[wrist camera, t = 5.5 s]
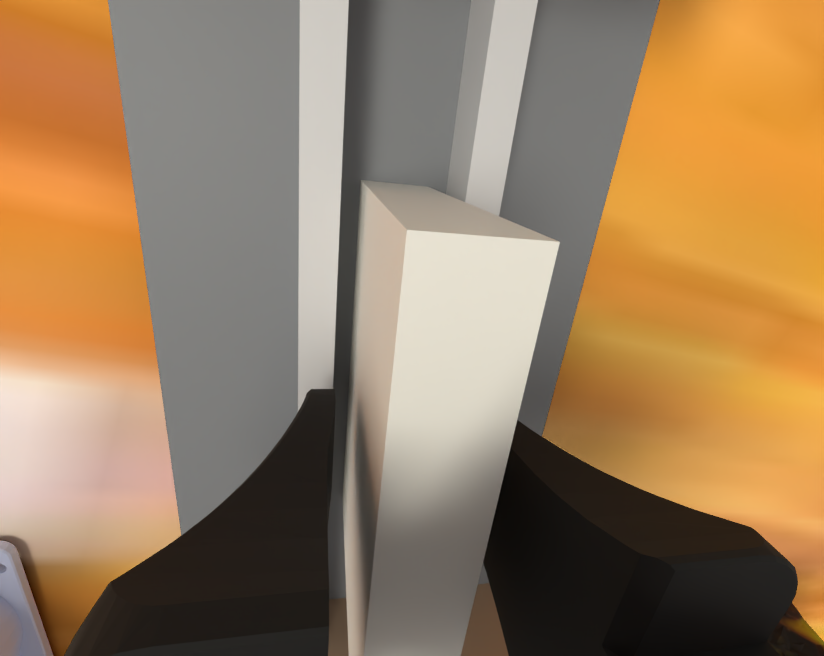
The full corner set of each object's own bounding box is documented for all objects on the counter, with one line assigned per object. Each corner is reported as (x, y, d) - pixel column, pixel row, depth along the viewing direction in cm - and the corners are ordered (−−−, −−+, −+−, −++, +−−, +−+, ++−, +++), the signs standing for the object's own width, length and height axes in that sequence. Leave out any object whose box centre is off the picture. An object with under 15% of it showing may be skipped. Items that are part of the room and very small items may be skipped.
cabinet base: (489, 583, 22) (542, 726, 17) (201, 613, 19) (151, 796, 14) (658, -77, 12) (933, -262, 6) (96, -224, 9) (-250, -776, 4)
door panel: (392, 494, 17) (438, 749, 10) (342, 497, 17) (352, 764, 10) (428, 186, 13) (559, 241, 5) (360, 179, 12) (406, 230, 5)
